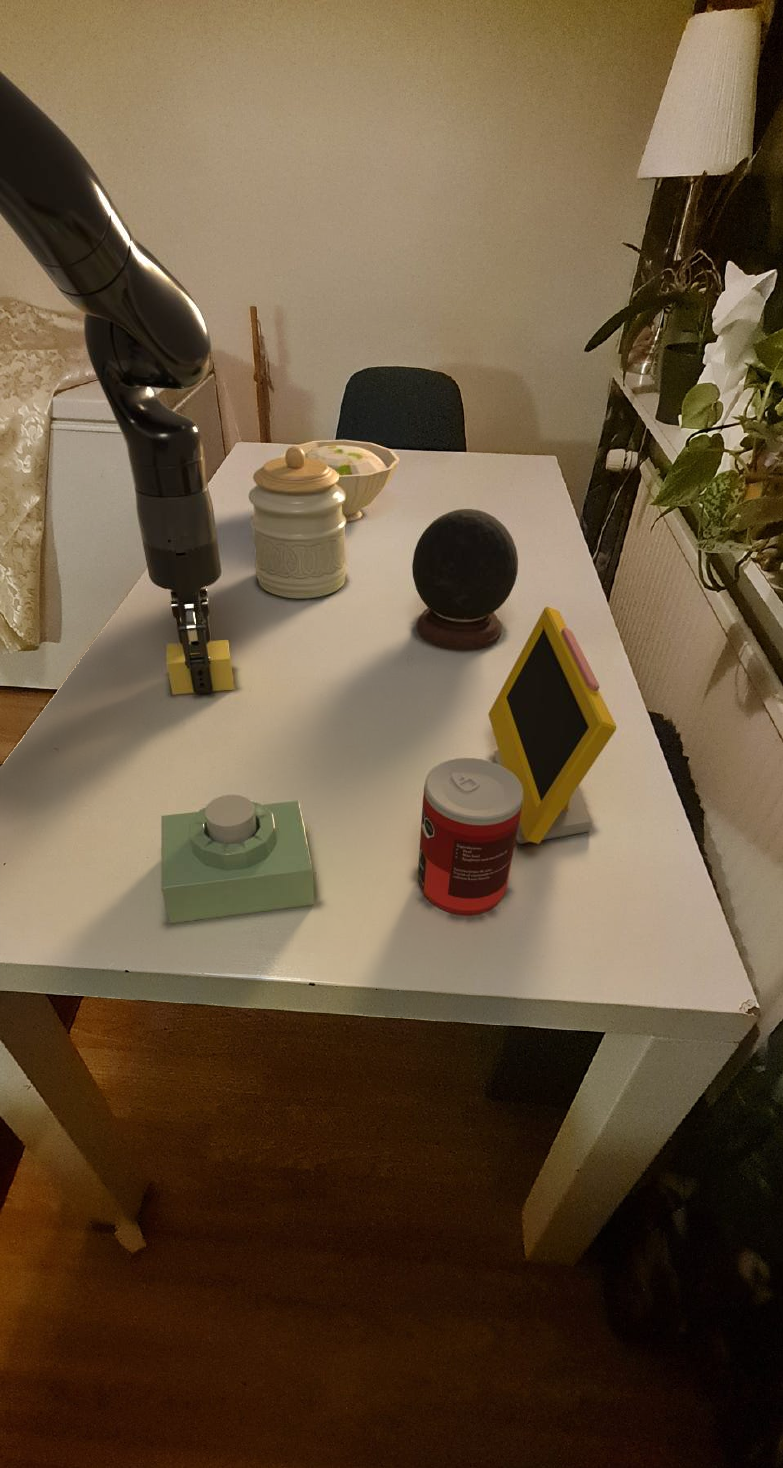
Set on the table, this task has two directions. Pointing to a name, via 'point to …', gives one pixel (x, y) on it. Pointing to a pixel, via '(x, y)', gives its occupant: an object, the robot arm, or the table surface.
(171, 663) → the sponge
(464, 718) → the table surface
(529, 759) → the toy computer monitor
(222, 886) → the push button box
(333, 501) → the jar
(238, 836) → the grey push button
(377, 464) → the bowl
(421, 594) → the sphere on stand
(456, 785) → the canned food
